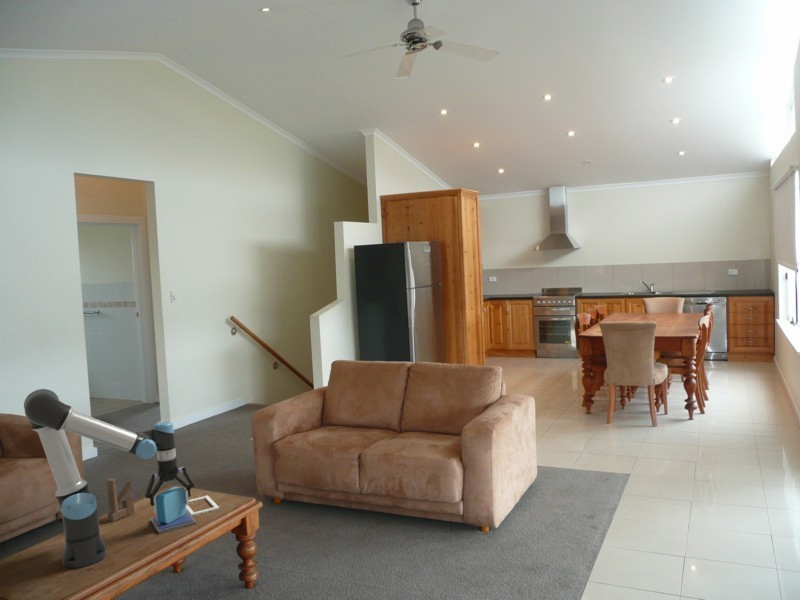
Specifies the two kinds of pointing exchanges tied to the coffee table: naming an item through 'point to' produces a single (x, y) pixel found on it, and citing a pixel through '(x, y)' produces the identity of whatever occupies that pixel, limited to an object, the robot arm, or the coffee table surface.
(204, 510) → the frame
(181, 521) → the ink pad
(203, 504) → the coffee table surface
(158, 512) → the data package
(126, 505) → the brown wooden mallet
